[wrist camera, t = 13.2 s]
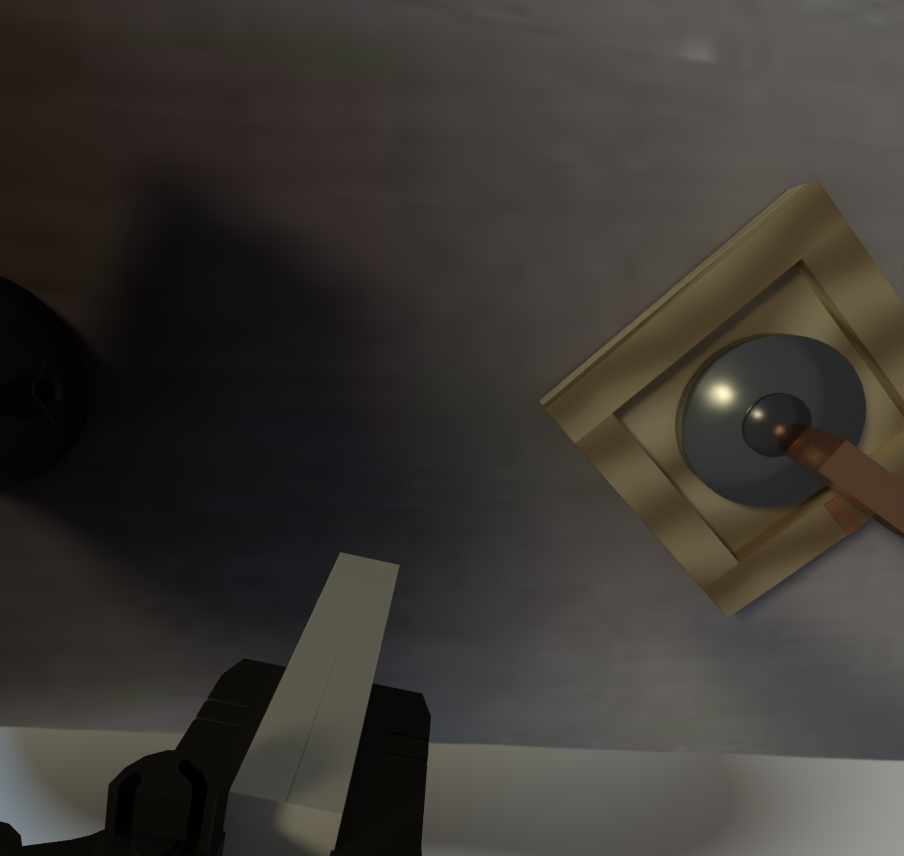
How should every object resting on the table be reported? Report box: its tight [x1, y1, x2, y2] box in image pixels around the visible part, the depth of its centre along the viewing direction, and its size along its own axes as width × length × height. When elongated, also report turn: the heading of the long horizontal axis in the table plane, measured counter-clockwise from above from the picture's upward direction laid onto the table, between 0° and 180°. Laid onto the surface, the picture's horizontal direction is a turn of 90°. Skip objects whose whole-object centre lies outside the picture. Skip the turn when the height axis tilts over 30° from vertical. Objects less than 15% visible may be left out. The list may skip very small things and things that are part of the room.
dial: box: [675, 333, 904, 538], centre depth 33 cm, size 16×11×5 cm, turn 56°
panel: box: [539, 180, 904, 618], centre depth 35 cm, size 20×20×3 cm
